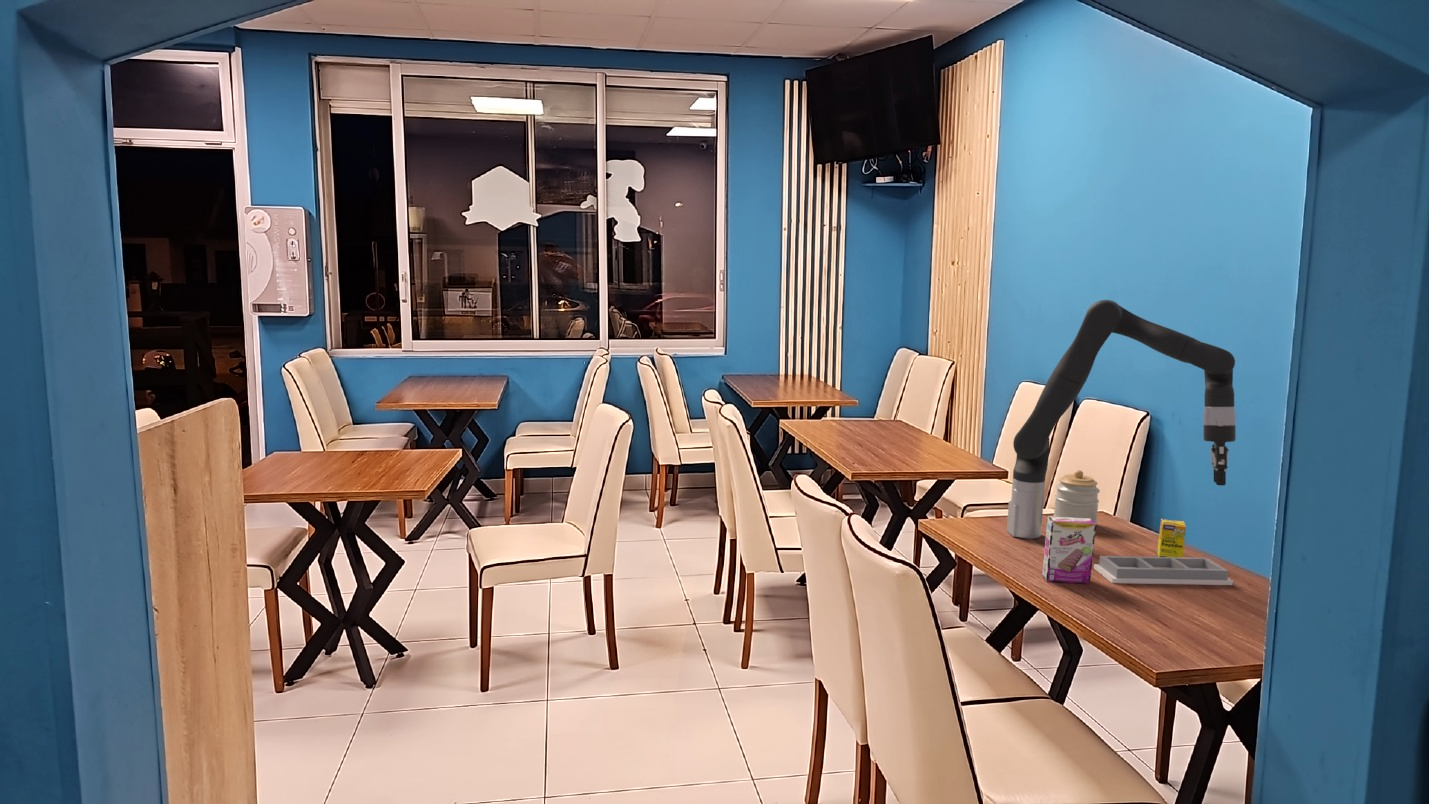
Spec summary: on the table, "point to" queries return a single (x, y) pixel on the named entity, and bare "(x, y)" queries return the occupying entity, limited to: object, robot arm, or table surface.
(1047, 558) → the candy bar box
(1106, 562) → the rack
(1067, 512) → the jar
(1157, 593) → the table surface
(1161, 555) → the supplement box
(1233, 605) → the table surface
